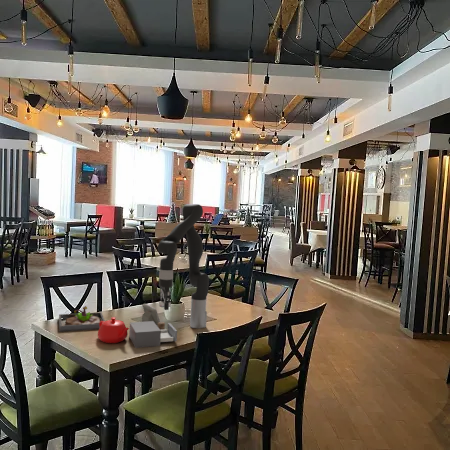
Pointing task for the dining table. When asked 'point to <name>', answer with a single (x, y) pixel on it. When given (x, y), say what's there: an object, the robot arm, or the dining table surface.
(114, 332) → the teapot
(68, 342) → the dining table surface
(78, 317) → the miniature garden
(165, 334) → the grey drawer box
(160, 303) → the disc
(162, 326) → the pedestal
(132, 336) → the housing
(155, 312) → the grey tissue
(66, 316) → the rectangular frame
